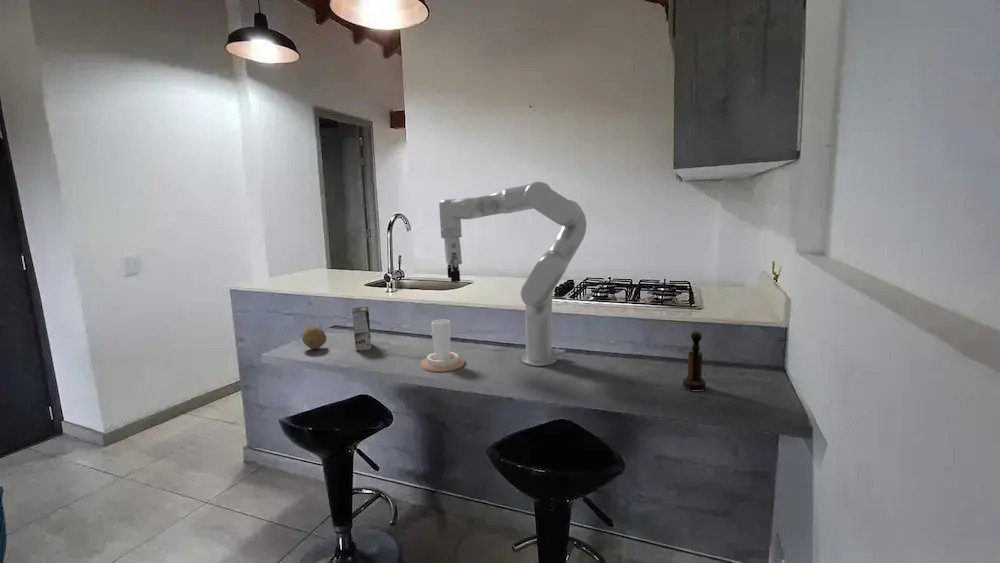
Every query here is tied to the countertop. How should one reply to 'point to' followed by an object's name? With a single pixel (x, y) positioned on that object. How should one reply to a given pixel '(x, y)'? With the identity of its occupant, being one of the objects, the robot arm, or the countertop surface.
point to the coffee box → (361, 328)
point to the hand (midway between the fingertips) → (453, 279)
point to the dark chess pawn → (695, 366)
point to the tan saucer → (442, 363)
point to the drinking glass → (441, 339)
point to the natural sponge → (314, 337)
